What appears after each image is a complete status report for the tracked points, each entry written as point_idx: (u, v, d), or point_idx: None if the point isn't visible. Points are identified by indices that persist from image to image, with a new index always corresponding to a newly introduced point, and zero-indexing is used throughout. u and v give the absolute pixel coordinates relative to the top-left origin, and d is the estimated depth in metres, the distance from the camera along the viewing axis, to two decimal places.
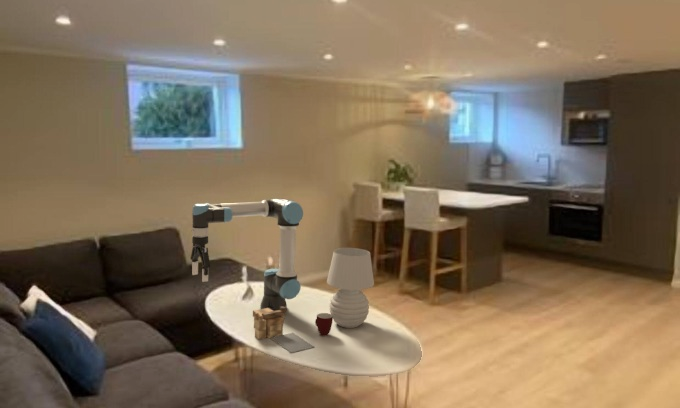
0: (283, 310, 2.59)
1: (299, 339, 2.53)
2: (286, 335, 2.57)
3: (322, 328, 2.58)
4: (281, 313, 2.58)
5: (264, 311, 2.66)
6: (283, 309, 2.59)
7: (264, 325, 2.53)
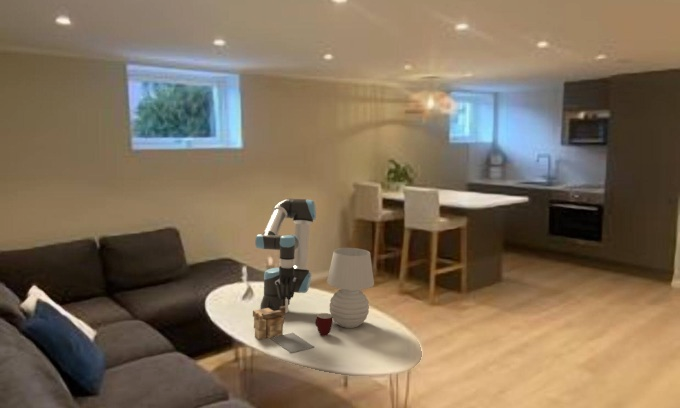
0: (282, 310, 2.59)
1: (299, 339, 2.53)
2: (286, 335, 2.57)
3: (322, 328, 2.58)
4: (280, 313, 2.58)
5: (264, 311, 2.66)
6: (283, 309, 2.59)
7: (264, 325, 2.53)
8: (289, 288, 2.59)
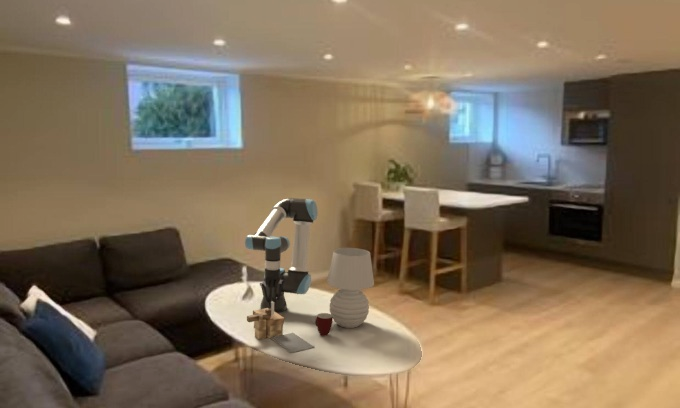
0: (268, 313, 2.54)
1: (299, 339, 2.53)
2: (286, 335, 2.57)
3: (322, 328, 2.58)
4: (266, 315, 2.54)
5: (264, 311, 2.66)
6: (269, 312, 2.54)
7: (264, 325, 2.53)
8: (275, 290, 2.55)
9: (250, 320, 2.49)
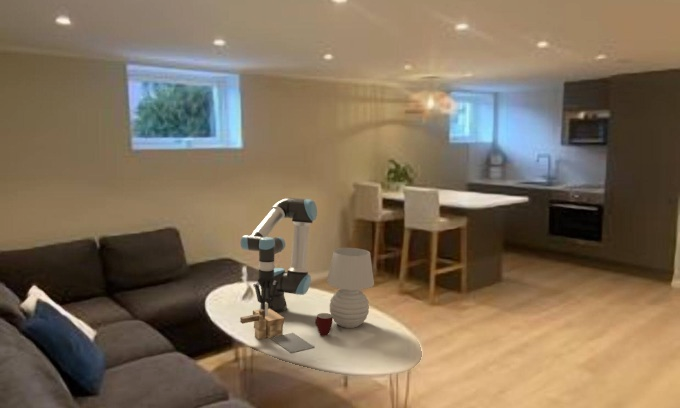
0: (262, 314, 2.52)
1: (299, 339, 2.53)
2: (286, 335, 2.57)
3: (322, 328, 2.58)
4: None
5: None
6: (262, 313, 2.52)
7: (264, 325, 2.53)
8: (269, 291, 2.53)
9: (244, 321, 2.47)
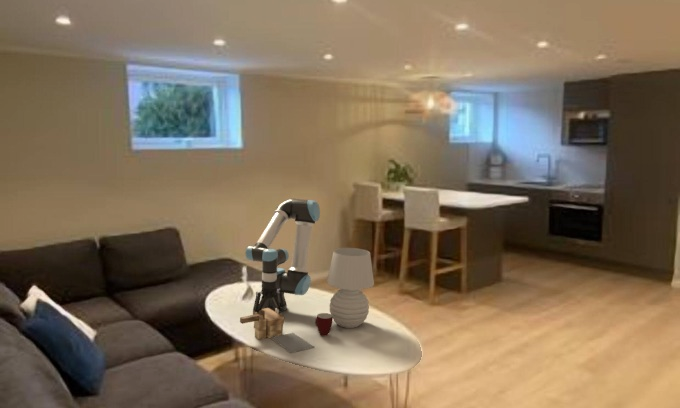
0: (262, 314, 2.52)
1: (299, 339, 2.53)
2: (286, 335, 2.57)
3: (322, 328, 2.58)
4: None
5: None
6: (262, 313, 2.52)
7: (264, 325, 2.53)
8: (275, 300, 2.62)
9: (243, 321, 2.46)
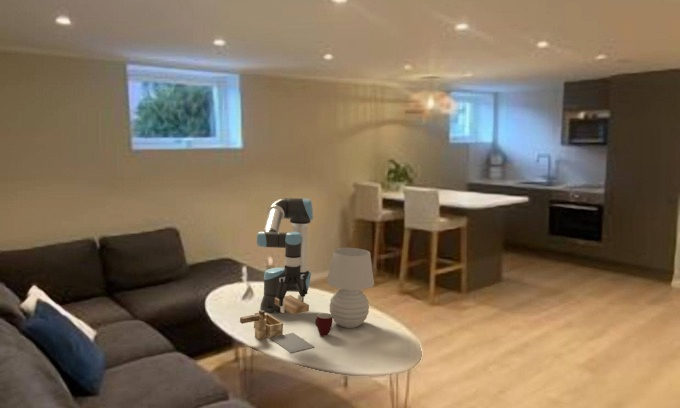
0: (262, 314, 2.52)
1: (299, 339, 2.53)
2: (286, 335, 2.57)
3: (322, 328, 2.58)
4: None
5: (287, 298, 2.50)
6: (262, 313, 2.52)
7: (264, 325, 2.53)
8: (299, 286, 2.46)
9: (243, 321, 2.46)
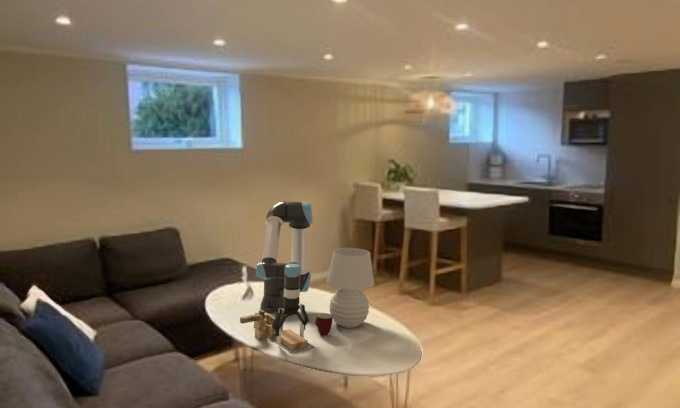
0: (262, 314, 2.52)
1: None
2: None
3: (322, 328, 2.58)
4: None
5: (286, 333, 2.52)
6: (262, 313, 2.52)
7: (264, 325, 2.53)
8: (299, 316, 2.49)
9: (243, 321, 2.46)
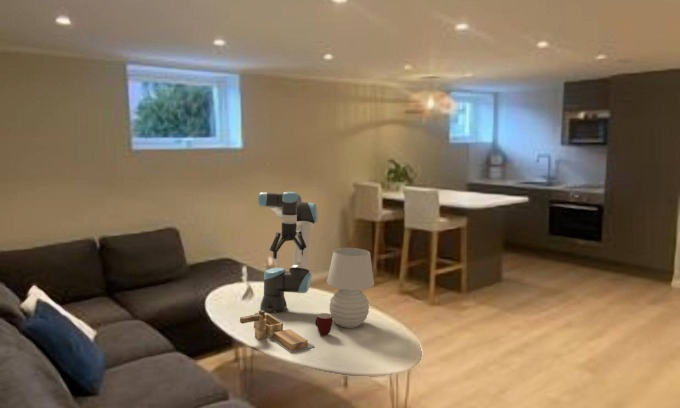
0: (262, 314, 2.52)
1: None
2: None
3: (322, 328, 2.58)
4: None
5: (286, 333, 2.52)
6: (262, 313, 2.52)
7: (264, 325, 2.53)
8: (297, 241, 2.64)
9: (243, 321, 2.46)
